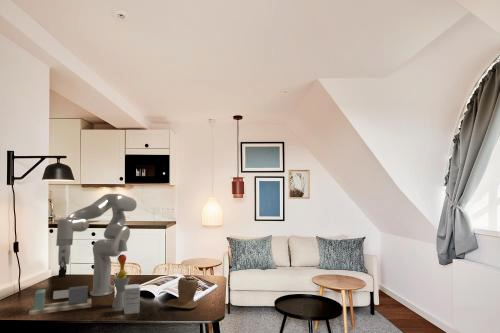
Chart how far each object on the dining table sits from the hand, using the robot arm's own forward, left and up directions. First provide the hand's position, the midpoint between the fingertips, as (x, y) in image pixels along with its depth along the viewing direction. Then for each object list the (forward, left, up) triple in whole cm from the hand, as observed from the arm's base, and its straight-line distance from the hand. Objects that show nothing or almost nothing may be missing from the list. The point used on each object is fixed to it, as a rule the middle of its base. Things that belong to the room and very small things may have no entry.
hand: (62, 275), depth 178 cm
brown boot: (-58, +25, -17) cm, 66 cm away
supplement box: (-32, +21, -17) cm, 42 cm away
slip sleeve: (-8, 0, -15) cm, 17 cm away
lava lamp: (-28, +9, -17) cm, 34 cm away
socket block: (+10, 0, -15) cm, 18 cm away
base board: (0, 0, -17) cm, 17 cm away
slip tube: (-4, 0, -11) cm, 12 cm away
